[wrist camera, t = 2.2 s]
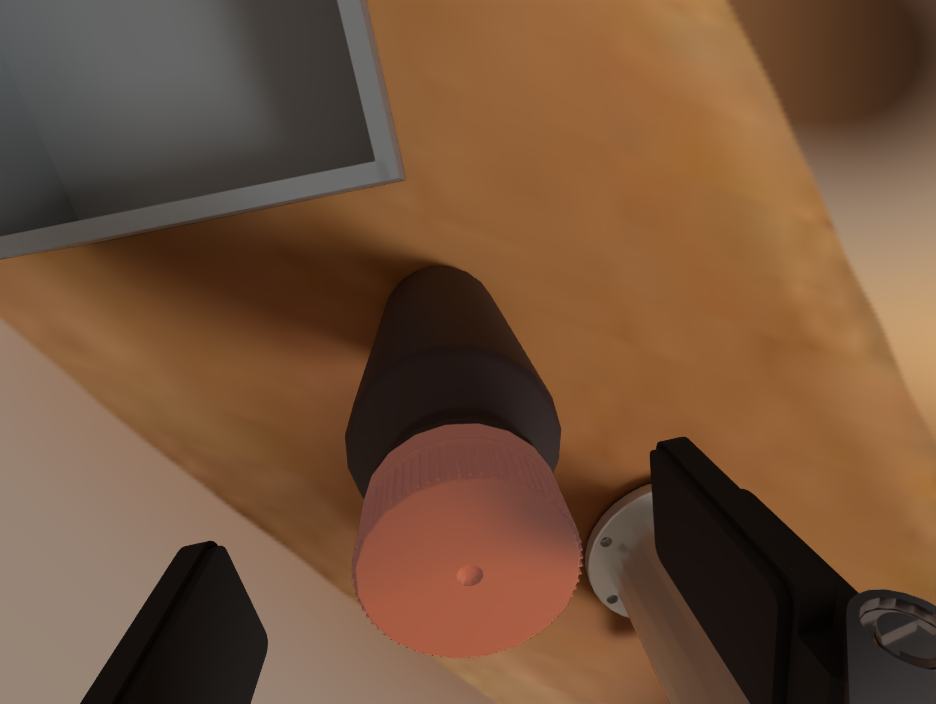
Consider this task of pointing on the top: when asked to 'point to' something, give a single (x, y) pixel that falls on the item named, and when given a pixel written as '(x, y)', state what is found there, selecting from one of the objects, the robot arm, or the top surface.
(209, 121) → the tote
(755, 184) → the top surface
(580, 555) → the vinegar
